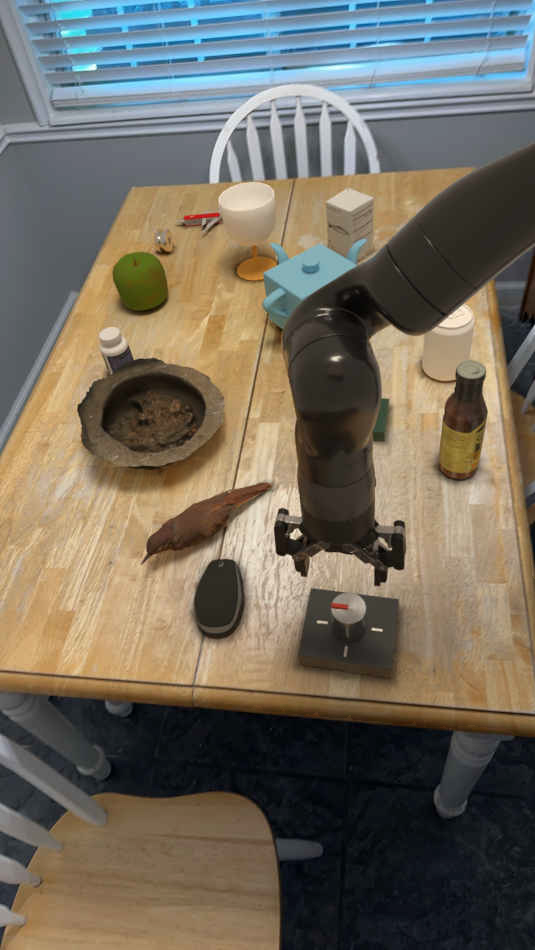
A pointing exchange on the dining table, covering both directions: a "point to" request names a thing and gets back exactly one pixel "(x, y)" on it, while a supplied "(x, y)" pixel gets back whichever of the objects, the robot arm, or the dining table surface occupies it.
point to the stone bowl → (149, 414)
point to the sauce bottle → (464, 422)
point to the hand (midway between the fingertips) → (341, 574)
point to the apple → (140, 280)
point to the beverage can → (448, 344)
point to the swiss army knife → (202, 219)
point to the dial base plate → (355, 656)
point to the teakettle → (302, 277)
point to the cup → (249, 223)
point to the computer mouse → (219, 598)
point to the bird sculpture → (200, 520)
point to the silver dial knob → (348, 616)
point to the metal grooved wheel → (163, 240)
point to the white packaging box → (350, 222)
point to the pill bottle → (114, 349)
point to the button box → (381, 421)
